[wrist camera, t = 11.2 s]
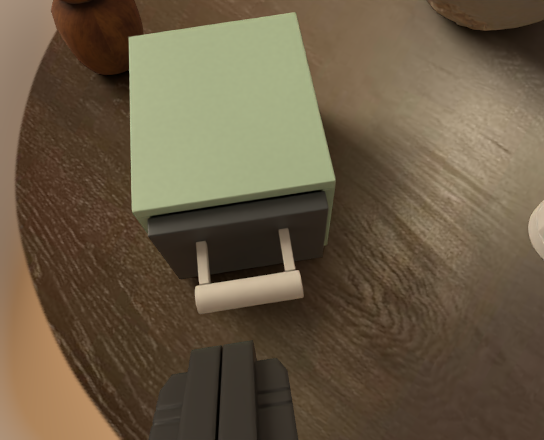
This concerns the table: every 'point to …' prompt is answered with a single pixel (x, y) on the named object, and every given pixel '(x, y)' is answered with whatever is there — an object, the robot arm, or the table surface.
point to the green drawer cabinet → (224, 117)
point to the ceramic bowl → (490, 12)
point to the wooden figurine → (98, 31)
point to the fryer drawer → (243, 247)
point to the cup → (537, 229)
